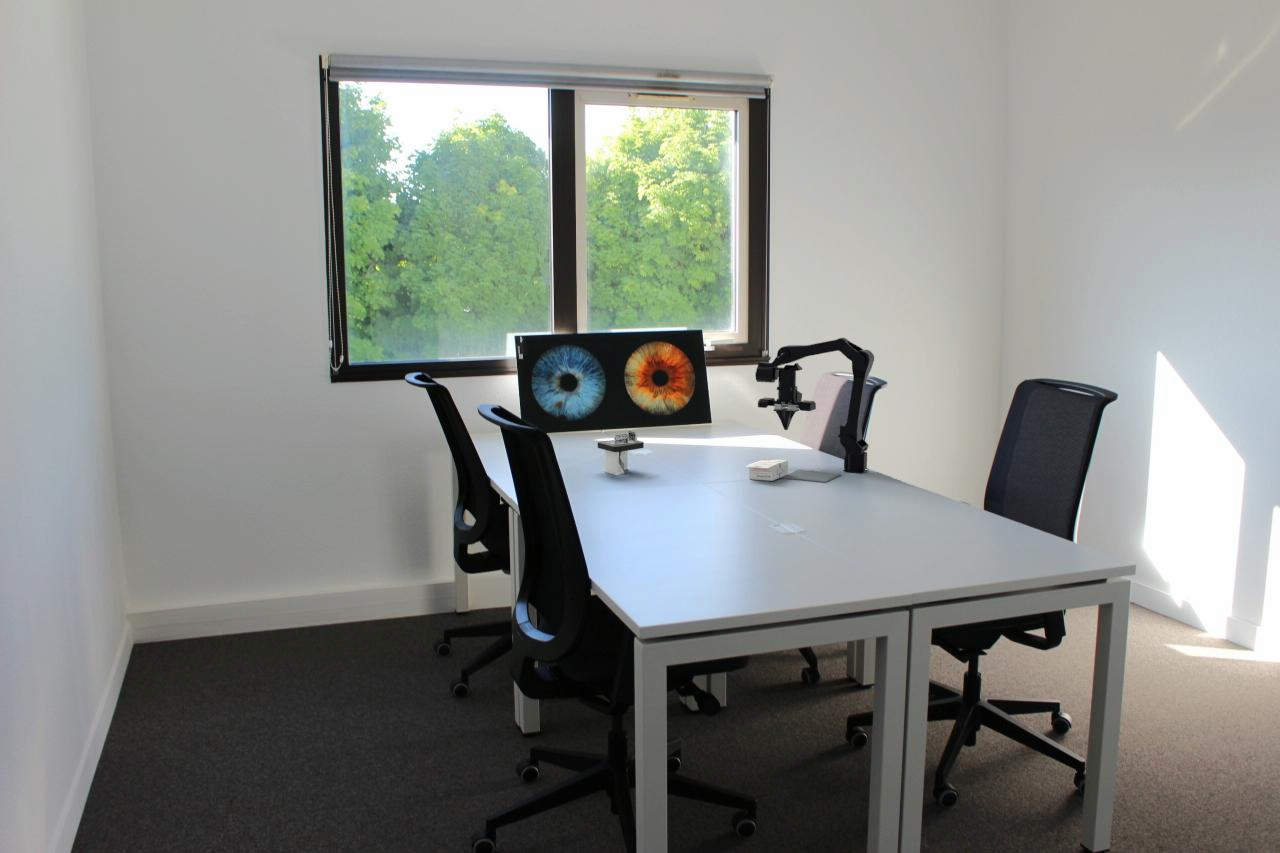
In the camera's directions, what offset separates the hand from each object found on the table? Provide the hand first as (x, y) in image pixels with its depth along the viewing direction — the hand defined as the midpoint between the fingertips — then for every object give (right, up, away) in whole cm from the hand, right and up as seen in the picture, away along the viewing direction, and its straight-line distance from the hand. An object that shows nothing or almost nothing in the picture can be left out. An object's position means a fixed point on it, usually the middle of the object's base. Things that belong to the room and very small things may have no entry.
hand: (786, 429), depth 364 cm
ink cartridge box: (-5, -12, -14) cm, 19 cm away
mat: (+6, -15, -17) cm, 24 cm away
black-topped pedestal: (-55, -14, -10) cm, 57 cm away
